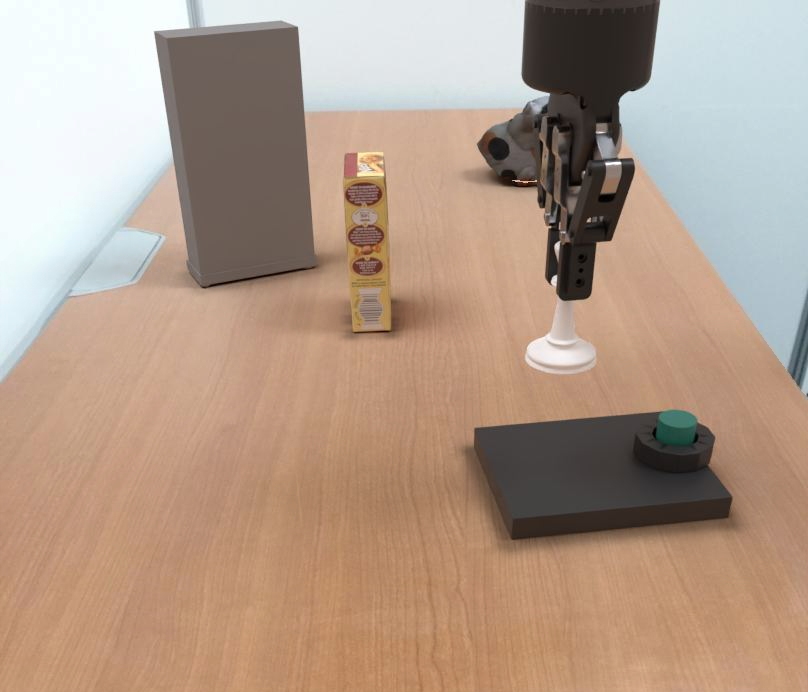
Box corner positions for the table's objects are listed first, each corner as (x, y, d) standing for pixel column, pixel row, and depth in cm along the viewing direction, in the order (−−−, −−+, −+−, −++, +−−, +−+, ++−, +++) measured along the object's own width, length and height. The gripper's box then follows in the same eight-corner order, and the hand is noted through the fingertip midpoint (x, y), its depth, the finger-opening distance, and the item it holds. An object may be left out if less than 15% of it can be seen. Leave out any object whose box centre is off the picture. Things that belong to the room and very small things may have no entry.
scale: (672, 430, 79) (679, 392, 77) (739, 517, 69) (749, 476, 67) (473, 448, 77) (474, 409, 75) (511, 540, 67) (514, 499, 65)
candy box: (392, 332, 96) (388, 175, 87) (350, 333, 96) (341, 176, 87) (389, 298, 103) (385, 150, 94) (350, 300, 103) (342, 151, 94)
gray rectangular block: (299, 252, 116) (279, 19, 101) (317, 267, 111) (300, 26, 97) (187, 271, 111) (150, 30, 97) (201, 288, 107) (165, 38, 92)
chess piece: (556, 338, 69) (567, 198, 64) (611, 359, 66) (628, 214, 61) (510, 359, 67) (517, 215, 61) (565, 382, 64) (578, 232, 58)
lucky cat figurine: (540, 158, 148) (589, 75, 138) (573, 208, 143) (626, 126, 133) (462, 141, 140) (508, 52, 131) (492, 194, 135) (543, 105, 125)
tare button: (685, 428, 73) (688, 407, 72) (699, 446, 71) (703, 425, 70) (650, 431, 73) (653, 411, 72) (663, 449, 71) (667, 429, 70)
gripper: (705, 6, 48) (658, 328, 59) (617, -23, 59) (590, 251, 70) (562, 12, 48) (539, 337, 58) (499, -18, 59) (489, 259, 69)
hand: (567, 289), depth 64 cm, fingers closed on chess piece
